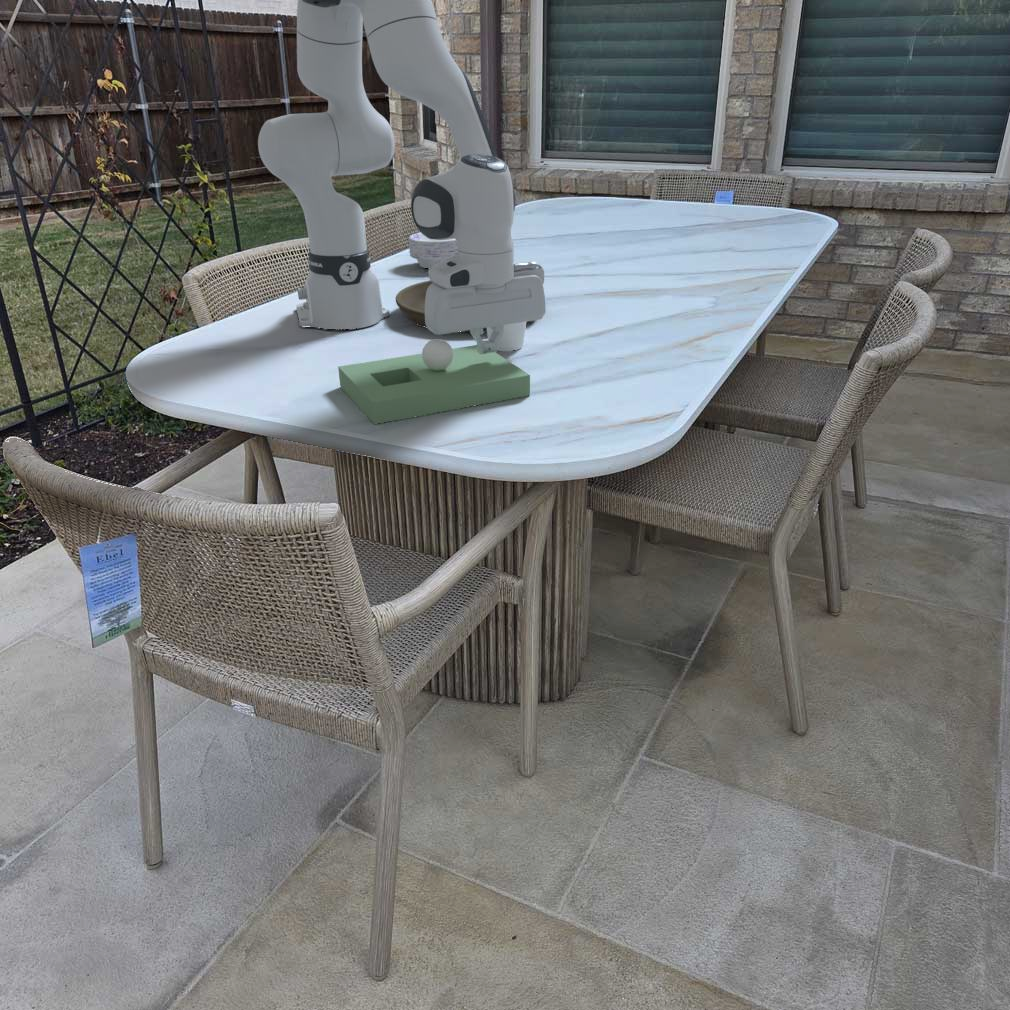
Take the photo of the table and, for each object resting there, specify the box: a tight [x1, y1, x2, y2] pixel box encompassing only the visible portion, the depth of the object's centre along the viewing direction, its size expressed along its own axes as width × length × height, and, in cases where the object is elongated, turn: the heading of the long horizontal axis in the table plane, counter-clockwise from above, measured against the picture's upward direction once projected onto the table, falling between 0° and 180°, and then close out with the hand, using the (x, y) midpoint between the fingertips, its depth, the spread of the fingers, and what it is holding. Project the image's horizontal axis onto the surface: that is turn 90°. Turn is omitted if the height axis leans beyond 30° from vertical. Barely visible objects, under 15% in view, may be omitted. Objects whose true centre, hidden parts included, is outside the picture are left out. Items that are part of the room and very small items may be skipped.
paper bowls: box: [408, 231, 457, 270], centre depth 217 cm, size 15×15×8 cm
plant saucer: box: [395, 279, 487, 333], centre depth 178 cm, size 31×31×5 cm
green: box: [337, 344, 531, 425], centre depth 138 cm, size 18×26×4 cm
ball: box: [421, 338, 453, 371], centre depth 137 cm, size 5×5×5 cm
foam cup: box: [486, 322, 527, 352], centre depth 157 cm, size 10×9×13 cm
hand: (487, 352), depth 141 cm, fingers closed
